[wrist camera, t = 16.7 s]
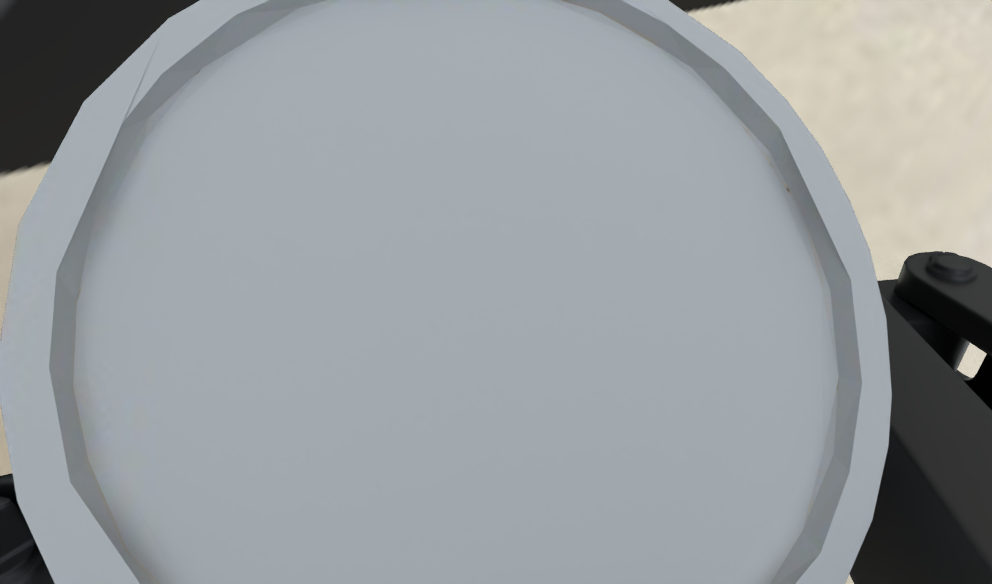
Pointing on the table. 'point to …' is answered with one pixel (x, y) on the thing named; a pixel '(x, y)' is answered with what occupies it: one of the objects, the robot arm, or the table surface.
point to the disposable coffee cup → (443, 308)
